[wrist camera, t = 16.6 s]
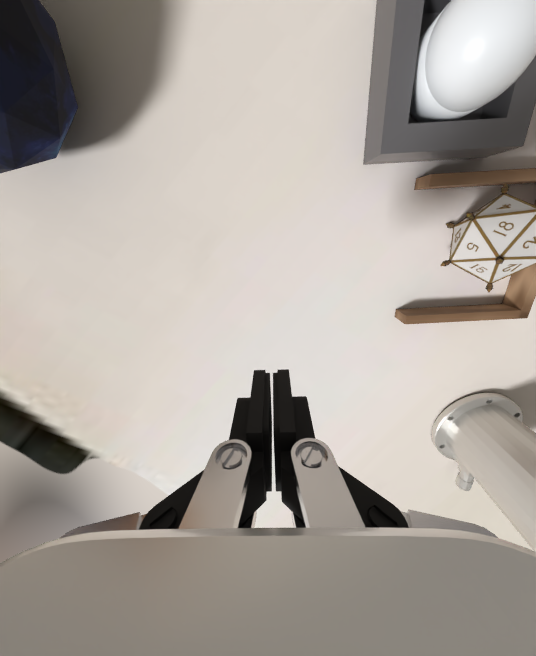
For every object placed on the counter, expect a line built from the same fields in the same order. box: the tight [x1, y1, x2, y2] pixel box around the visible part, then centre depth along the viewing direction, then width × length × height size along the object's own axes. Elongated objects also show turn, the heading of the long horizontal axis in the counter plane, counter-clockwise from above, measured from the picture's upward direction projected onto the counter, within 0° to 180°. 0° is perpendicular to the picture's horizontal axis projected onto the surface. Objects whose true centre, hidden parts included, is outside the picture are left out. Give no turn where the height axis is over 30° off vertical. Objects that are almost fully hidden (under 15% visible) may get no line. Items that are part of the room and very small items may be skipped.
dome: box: [410, 0, 536, 123], centre depth 18 cm, size 7×7×7 cm
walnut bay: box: [395, 168, 536, 324], centre depth 27 cm, size 15×14×2 cm
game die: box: [440, 183, 536, 292], centre depth 24 cm, size 9×8×10 cm
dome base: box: [363, 0, 536, 165], centre depth 21 cm, size 12×12×4 cm
